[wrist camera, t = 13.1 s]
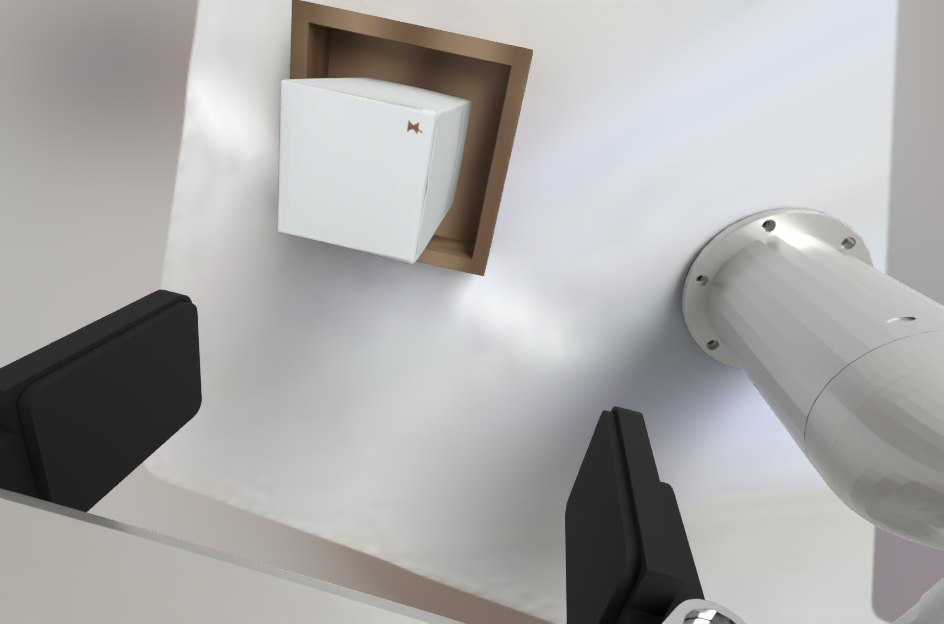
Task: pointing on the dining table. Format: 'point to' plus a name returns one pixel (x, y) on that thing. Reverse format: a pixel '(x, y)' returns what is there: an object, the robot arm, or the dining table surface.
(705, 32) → the dining table surface
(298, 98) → the supplement box
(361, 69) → the wooden shadow box
